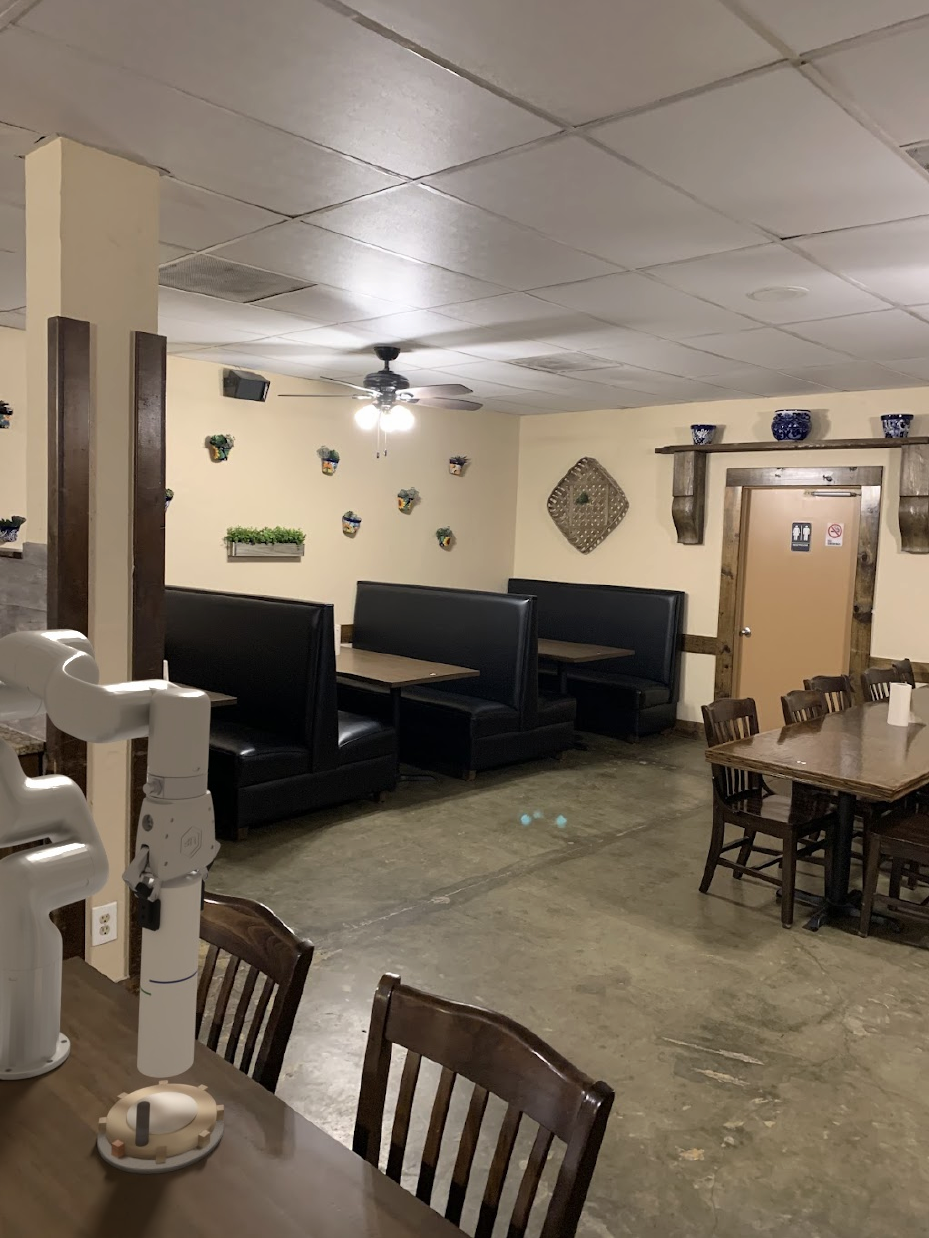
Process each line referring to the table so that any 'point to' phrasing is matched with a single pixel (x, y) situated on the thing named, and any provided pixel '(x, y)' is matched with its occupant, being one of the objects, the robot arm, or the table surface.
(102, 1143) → the dial base
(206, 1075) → the table surface
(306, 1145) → the table surface
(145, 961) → the cylindrical container
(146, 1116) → the dial
